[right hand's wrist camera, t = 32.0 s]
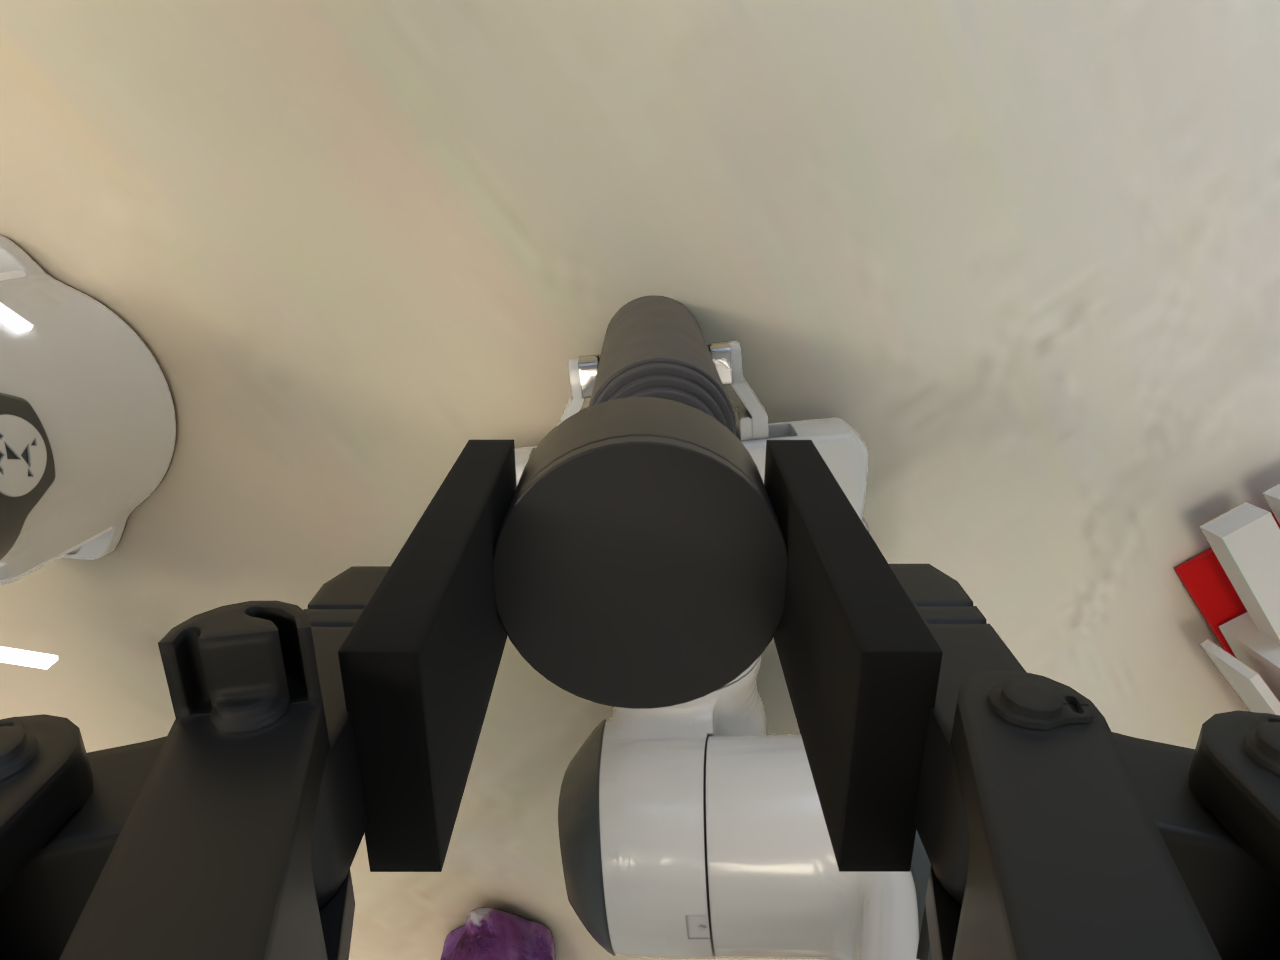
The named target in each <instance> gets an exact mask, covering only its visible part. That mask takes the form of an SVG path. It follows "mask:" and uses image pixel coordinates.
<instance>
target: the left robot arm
mask: <svg viewBox="0 0 1280 960" xmlns="http://www.w3.org/2000/svg"><path fill="white" fill-rule="evenodd" d="M708 349H709V352H710V354H711V357H712V359H713V361H714V364H715V366H716V369H717V371H718V374H719V376H720V379H721V381H722V384H730V385H731V387H732V388H733V390H734V391H735V393H736V394H737V396H738V397H739V399H740V400H741V401H742V403H743V404H744V406H745V407H737V408H736V409H735V412H736V437H737V438H738V439H739V440H740V441H741V442H742V444H743V445H744V446H745V448H746V449H747V450H748V452H749V453H750V455H751V457H752V458H753V460H754V462H755V464H756V465H757V467H758V470H759V473H760V475H761V478H762V480H763V483H764V475H765V457H766V440H812V442H813V443H814V445H815V447H816V448H817V450H818V451H819V453H820V455H821V456H822V458H823V460H824V461H825V463H826V464H827V466H828V468H829V469H830V471H831V472H832V474H833V476H834V477H835V479H836V481H837V482H838V484H839V485H840V487H841V489H842V490H843V492H844V493H845V495H846V497H847V498H848V500H849V501H850V503H851V505H852V506H853V508H854V510H855V511H856V513H857V514H858V516H859V518H860V519H861V521H862V522H863V524H864V526H865V527H866V529H867V531H868V532H869V528H868V525H867V522H866V521H865V519H864V517H863V510H864V503H865V496H866V486H867V475H868V450H867V447H866V444H865V442H864V440H863V439H862V438H861V436H860V435H859V434H858V433H857V432H856V431H855V430H854V429H853V428H852V427H851V426H850V425H849V424H848V423H846V422H845V421H844V420H843V419H841V418H837V417H833V418H822V419H812V420H801V421H791V422H780V423H770V424H768V414H767V413H766V411H765V409H764V407H763V405H762V403H761V402H760V401H759V399H758V398H757V396H756V395H755V393H754V392H753V390H752V389H751V387H750V386H749V385H748V383H747V382H746V380H745V379H744V377H743V372H742V355H741V348H740V344H739V342H738V341H729V342H719V343H710V344H708ZM599 361H600V357H599V355H589V356H576V357H570V359H569V361H568V367H569V378H570V386H571V396H570V398H569V400H568V403H567V405H566V407H565V410H564V412H563V414H562V417H561V419H560V421H559V424H560V423H562V422H563V421H564V420H566V419H567V418H569V417H571V416H572V415H574V414H576V413H578V412H579V411H580V410H581V407H582V405H583V403H584V400H585V398H587V397H591V396H592V391H593V387H594V383H595V378H596V374H597V370H598V365H599ZM559 424H558V425H559ZM175 440H176V418H175V410H174V405H173V400H172V397H171V393H170V390H169V387H168V384H167V382H166V379H165V377H164V375H163V373H162V371H161V369H160V367H159V365H158V363H157V361H156V360H155V358H154V356H153V355H152V353H151V352H150V350H149V349H148V348H147V346H146V345H145V344H144V342H143V341H142V340H141V339H140V337H139V336H138V335H137V334H136V333H135V332H134V331H133V330H132V329H131V328H130V326H129V325H127V324H126V323H125V322H124V321H123V320H122V319H121V318H120V317H119V316H117V315H116V314H115V313H114V312H112V311H111V310H110V309H108V308H107V307H106V306H104V305H103V304H101V303H100V302H98V301H96V300H95V299H93V298H91V297H90V296H88V295H86V294H84V293H82V292H80V291H78V290H76V289H74V288H72V287H70V286H67V285H65V284H63V283H61V282H59V281H58V280H56V279H54V278H53V277H51V276H50V275H48V274H46V273H45V272H44V271H43V270H42V268H41V267H40V266H39V265H38V264H37V263H36V262H35V261H33V260H32V259H31V258H30V257H29V256H28V255H27V254H26V253H25V252H24V251H23V250H22V249H21V248H20V247H18V246H17V245H16V244H15V243H13V242H12V241H10V240H9V239H7V238H5V237H3V236H0V584H7V583H10V582H13V581H16V580H18V579H20V578H22V577H24V576H26V575H28V574H30V573H32V572H33V571H35V570H37V569H39V568H41V567H43V566H45V565H47V564H49V563H51V562H52V561H54V560H56V559H58V558H70V559H81V560H96V559H99V558H101V557H103V556H105V555H107V554H109V553H111V552H112V551H113V550H114V549H115V548H116V547H117V545H118V543H119V541H120V538H121V536H122V533H123V530H124V527H125V524H126V521H127V518H128V516H129V515H130V514H131V512H132V511H133V510H134V509H135V508H136V507H137V506H138V505H140V504H141V503H142V502H143V501H144V500H145V499H146V498H147V497H148V496H150V494H151V493H152V492H153V491H154V490H155V489H156V488H157V486H158V485H159V484H160V482H161V481H162V479H163V477H164V476H165V474H166V472H167V470H168V467H169V465H170V462H171V459H172V456H173V452H174V447H175ZM536 448H537V446H530V447H520V448H515V465H516V483H517V485H518V483H519V480H520V478H521V475H522V472H523V470H524V467H525V465H526V464H527V462H528V460H529V458H530V456H531V455H532V453H533V452H534V450H535V449H536ZM56 661H58V655H52V654H45V653H39V652H33V651H27V650H21V649H14V648H8V647H2V646H0V662H3V663H9V664H15V665H22V666H28V667H34V668H40V669H46V670H47V669H48V668H49V667H50V666H51V665H53V664H54V663H55V662H56ZM760 663H761V655H760V656H759V658H758V659H757V660H756V661H755V662H754V663H753V664H752V665H751V666H750V667H749V668H748V669H747V670H746V671H744V672H743V673H742V674H741V675H739V676H738V677H737V678H736V679H734V680H733V681H731V682H730V683H728V684H727V685H725V686H723V687H722V688H720V689H718V690H716V691H714V692H712V693H710V694H708V695H706V696H704V697H701V698H698V699H695V700H693V701H690V702H687V703H683V704H678V705H674V706H669V707H661V708H652V709H630V708H621V707H614V708H613V712H612V718H611V719H609V720H606V719H605V720H603V721H602V722H601V723H600V724H599V725H598V726H597V727H596V728H595V730H594V731H593V732H592V733H591V734H590V736H589V737H588V738H587V740H586V741H585V743H584V744H583V745H582V746H581V748H580V749H579V751H578V752H577V754H576V755H575V756H574V757H573V759H572V760H571V762H570V764H569V766H568V768H567V770H566V772H565V775H564V778H563V782H562V786H561V791H560V797H559V808H558V823H559V838H560V848H561V856H562V864H563V871H564V877H565V884H566V889H567V895H568V899H569V902H570V904H571V905H572V907H573V909H574V911H575V912H576V914H577V916H578V917H579V919H580V920H581V922H582V923H583V925H584V926H585V927H586V929H587V930H588V932H589V933H590V934H591V935H592V937H593V938H594V939H595V940H596V941H597V942H598V943H599V944H600V945H601V946H602V947H603V948H604V949H605V950H607V951H608V952H609V953H611V954H612V955H613V956H614V955H623V956H630V957H641V958H671V959H715V958H716V957H717V958H782V959H821V960H921V959H916V956H917V949H918V942H919V936H920V929H921V923H922V917H923V911H924V904H925V898H926V892H927V886H928V879H929V873H930V867H931V863H930V861H929V858H928V856H927V853H926V851H925V849H924V846H923V844H922V841H921V839H920V836H919V834H918V832H917V829H916V835H915V842H914V849H913V855H912V862H911V869H910V872H839V869H838V865H837V861H836V858H835V854H834V851H833V847H832V844H831V840H830V837H829V833H828V829H827V826H826V822H825V819H824V815H823V812H822V808H821V805H820V801H819V797H818V794H817V790H816V787H815V783H814V780H813V776H812V773H811V769H810V765H809V762H808V758H807V755H806V751H805V748H804V744H803V740H802V737H801V734H790V735H766V718H765V710H764V706H763V703H762V700H761V698H760V696H759V693H758V690H757V686H756V679H757V674H758V671H759V667H760ZM928 960H932V957H931V949H929V955H928Z"/></svg>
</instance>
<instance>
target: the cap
mask: <svg viewBox="0 0 1280 960" xmlns="http://www.w3.org/2000/svg"><path fill="white" fill-rule="evenodd" d="M787 561H788V549H787V545H786V540H785V537H784V535H783V532H782V530H781V527H780V524H779V522H778V519H777V517H776V514H775V511H774V509H773V506H772V504H771V501H770V498H769V496H768V493H767V491H766V488H765V485H764V483H763V480H762V478H761V475H760V473H759V470H758V467H757V465H756V464H755V462H754V460H753V458H752V457H751V455H750V453H749V452H748V450H747V449H746V448H745V446H744V445H743V444H742V442H741V441H740V440H739V439H738V438H737V437H736V436H735V435H734V434H733V433H732V432H731V431H730V430H729V429H728V428H727V427H725V426H724V425H723V424H721V423H720V422H719V421H717V420H716V419H715V418H713V417H711V416H710V415H708V414H706V413H704V412H703V411H701V410H699V409H696V408H694V407H691V406H689V405H686V404H684V403H680V402H676V401H672V400H669V399H662V398H654V397H627V398H620V399H613V400H609V401H606V402H602V403H598V404H596V405H593V406H591V407H588V408H586V409H583V410H581V411H579V412H578V413H576V414H574V415H572V416H571V417H569V418H567V419H566V420H564V421H563V422H562V423H560V424H559V425H558V426H556V427H555V428H554V429H553V430H552V431H551V432H550V433H549V434H548V435H547V436H546V437H545V438H544V439H543V440H542V441H541V442H540V444H539V445H538V446H537V448H536V449H535V450H534V452H533V453H532V455H531V456H530V458H529V460H528V462H527V464H526V465H525V467H524V470H523V472H522V475H521V478H520V480H519V483H518V485H517V488H516V491H515V493H514V496H513V498H512V501H511V503H510V506H509V509H508V511H507V514H506V516H505V519H504V522H503V524H502V527H501V529H500V532H499V535H498V537H497V540H496V544H495V549H494V553H493V566H494V581H495V596H496V608H497V612H498V615H499V618H500V620H501V623H502V626H503V627H504V629H505V631H506V633H507V635H508V637H509V638H510V640H511V642H512V643H513V645H514V646H515V647H516V649H517V650H518V651H519V653H520V654H521V656H522V657H523V658H524V659H525V660H526V661H527V662H528V663H529V664H530V665H531V666H532V667H533V668H534V669H535V670H536V671H538V672H539V673H540V674H541V675H543V676H544V677H545V678H546V679H547V680H549V681H551V682H552V683H554V684H555V685H557V686H558V687H560V688H562V689H563V690H566V691H568V692H570V693H572V694H574V695H576V696H578V697H581V698H584V699H587V700H589V701H592V702H595V703H599V704H604V705H608V706H613V707H621V708H630V709H652V708H661V707H669V706H674V705H678V704H683V703H687V702H690V701H693V700H695V699H698V698H701V697H704V696H706V695H708V694H710V693H712V692H714V691H716V690H718V689H720V688H722V687H723V686H725V685H727V684H728V683H730V682H731V681H733V680H734V679H736V678H737V677H738V676H739V675H741V674H742V673H743V672H744V671H746V670H747V669H748V668H749V667H750V666H751V665H752V664H753V663H754V662H755V661H756V660H757V659H758V658H759V656H760V655H761V654H762V653H763V651H764V650H765V649H766V647H767V646H768V644H769V643H770V642H771V640H772V638H773V636H774V635H775V633H776V631H777V629H778V627H779V625H780V623H781V620H782V617H783V614H784V605H785V590H786V576H787Z"/></svg>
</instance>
